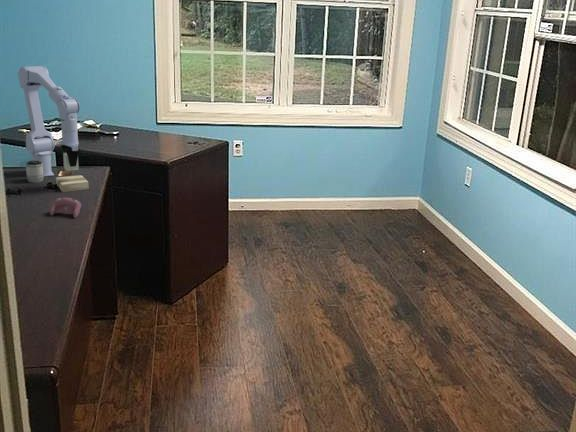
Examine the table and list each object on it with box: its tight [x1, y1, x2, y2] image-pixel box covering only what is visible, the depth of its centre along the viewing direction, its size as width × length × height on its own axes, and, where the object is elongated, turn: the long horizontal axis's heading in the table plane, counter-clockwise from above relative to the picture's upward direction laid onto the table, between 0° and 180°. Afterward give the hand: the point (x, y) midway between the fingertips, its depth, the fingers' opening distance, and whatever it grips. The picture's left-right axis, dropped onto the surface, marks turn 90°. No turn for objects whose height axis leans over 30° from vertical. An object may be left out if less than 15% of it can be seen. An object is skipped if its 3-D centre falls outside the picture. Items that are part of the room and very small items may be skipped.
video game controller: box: [49, 197, 82, 219], centre depth 210 cm, size 10×5×7 cm, turn 85°
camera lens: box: [25, 160, 45, 184], centre depth 243 cm, size 6×6×8 cm
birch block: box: [55, 174, 90, 193], centre depth 239 cm, size 10×10×3 cm
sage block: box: [62, 152, 80, 172], centre depth 236 cm, size 4×4×6 cm
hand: (71, 164), depth 236 cm, fingers closed on sage block, 4 cm apart
